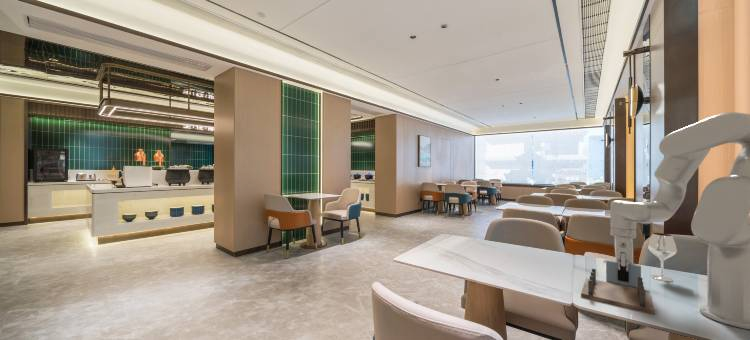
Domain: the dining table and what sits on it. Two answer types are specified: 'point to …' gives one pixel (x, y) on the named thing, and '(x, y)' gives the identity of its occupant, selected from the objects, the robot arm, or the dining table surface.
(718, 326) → the dining table surface
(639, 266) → the pale blue upright panel
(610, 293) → the rack
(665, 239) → the wineglass
